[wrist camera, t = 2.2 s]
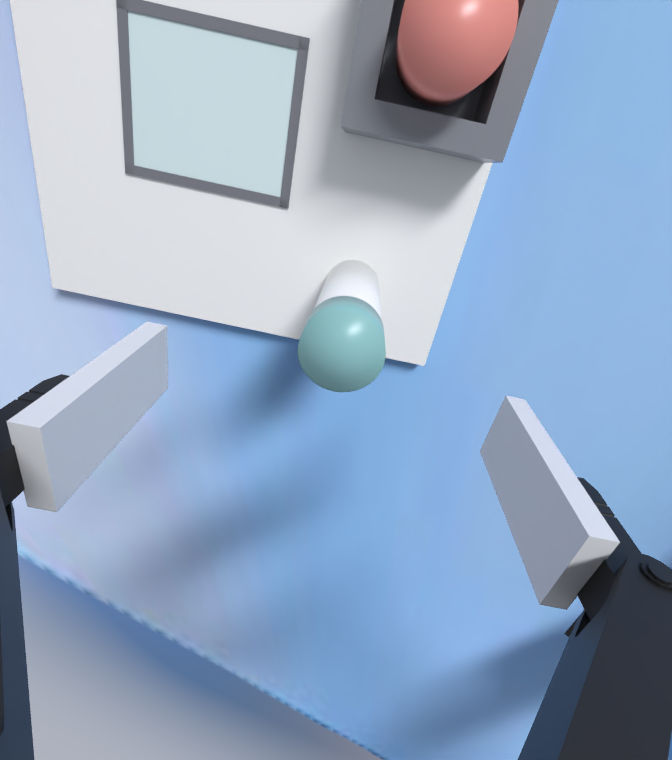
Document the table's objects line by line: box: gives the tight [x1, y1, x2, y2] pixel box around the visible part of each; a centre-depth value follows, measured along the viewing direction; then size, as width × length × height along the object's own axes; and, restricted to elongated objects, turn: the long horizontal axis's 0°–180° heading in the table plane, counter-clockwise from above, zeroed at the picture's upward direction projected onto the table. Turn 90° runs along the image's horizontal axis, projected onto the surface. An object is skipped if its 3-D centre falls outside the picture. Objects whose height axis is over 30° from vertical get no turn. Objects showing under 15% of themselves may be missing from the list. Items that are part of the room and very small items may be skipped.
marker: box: [298, 260, 386, 392], centre depth 24 cm, size 4×4×12 cm
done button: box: [395, 0, 519, 106], centre depth 19 cm, size 5×5×4 cm
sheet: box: [10, 0, 492, 366], centre depth 27 cm, size 24×30×1 cm
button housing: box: [341, 0, 559, 163], centre depth 21 cm, size 9×9×4 cm
